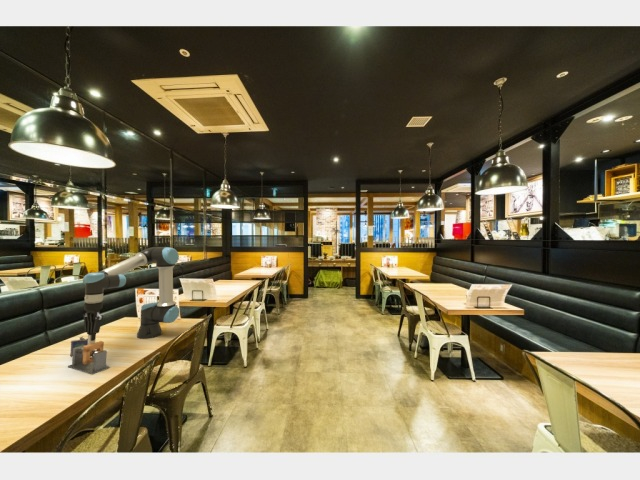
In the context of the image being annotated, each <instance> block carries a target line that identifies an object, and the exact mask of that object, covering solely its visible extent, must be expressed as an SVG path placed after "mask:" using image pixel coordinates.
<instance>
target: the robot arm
mask: <svg viewBox="0 0 640 480" xmlns="http://www.w3.org/2000/svg"><path fill="white" fill-rule="evenodd" d="M179 258H180V257H179V253H178V251H177V250H176V249H175V248H173V247H167V246H164V247H163V246H162V247H161V246H152V247H149V248H146V249H144V250H141V251H139V252H136V253H135V255H133V256H130V257H129V258H127V259H125V260H124V259H123V260H122V261H120V262H118V263H116V264H114V265H111V266H109V267H107V268H104V269H103V270H102V269H101V270H100V271H97V272H89V273H86V274H85V275H84V276H83V278H82V283H83V285H84V286H85V288H84V305H83V310H84V311H86V313H83V314H82V317H83V322H84V323H83V324H84V332H85V333H87V334H86V335H87V338H88V345H89V344H93V343H96V336H97V334H99V333H100V330H101V326H102V321H103V318H104V315H101V311H100V310H102V309H103V307H104V306H103V303H104V302H103V301H104V290H108V289H117V288H122V287H124V286H125V285H126V283H127V277H126V276H125V275H124V274H126V273H128V272H130V271H132V270H134V269H136V268H138V267H141V266H146V265H149V264H155V266H156V268H157V269H158V291H159V293H158V297H159V298H158V299H159V301H158V302H157V301H156V302H149V303H145V304H142V305H141V308H140V323H139V324H140V325H139V328H138V330H137V333H136V337H137V338H138V339H151V338H152V337H153V338H156V337H158V335H159V336H161V335H162V334H161V333H162V332H163V331H162V328H161V324H160V323H165V324H170V323H171V324H172V323H174V322H175V321H177V319H178V318H179V315H180V308H179V307H178V306H176V304H177V303H176V302H175V301H174V278H173V276H174V275H173V272H174V267H175V266H176V264H177V263H178V261H179ZM160 334H161V335H160ZM155 336H156V337H155Z"/></svg>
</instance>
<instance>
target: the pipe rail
mask: <svg viewBox="0 0 640 480" xmlns="http://www.w3.org/2000/svg"><path fill="white" fill-rule="evenodd" d="M84 346H86V345H82V346H79V347H76V348H73V356H71V358H72V359H71V364H70V365H68V366H67V368H70V369H72V370H76V371H80V372H82V373H86V374H89V375H95V374H97V373H100V372H102V371H105V370H107V369H110V368H111V366H109V365H107V356H108V355H107V354H108V353H107V352H108V350H107V349H106V350H105V349H103V351H97V349H95V350H92V351H90V357H93V362H91V363H88V364H86V365H85V364H83V347H84Z"/></svg>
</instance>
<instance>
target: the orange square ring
mask: <svg viewBox="0 0 640 480" xmlns="http://www.w3.org/2000/svg"><path fill="white" fill-rule="evenodd" d="M104 345H105V342H104V341H102V340H100V341H95V343H93V344H89V345H86V346H84V347H83V364H85V365H86V364H88V363H91V362H93V357H92V356H90V351H92V350H97V351H103V350H104Z"/></svg>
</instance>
